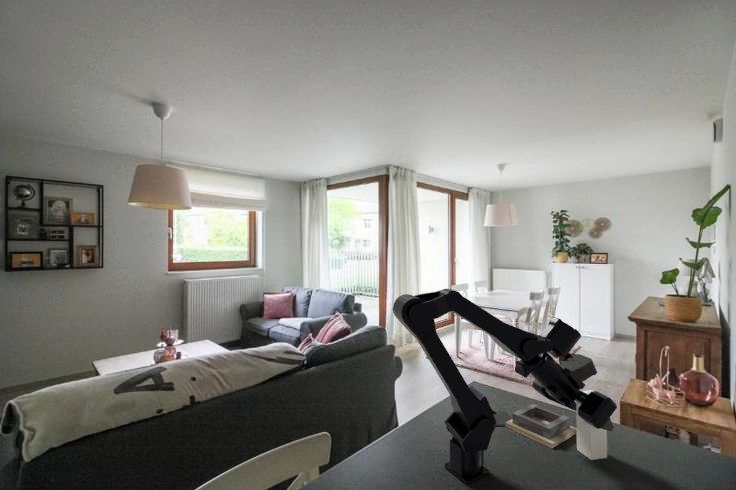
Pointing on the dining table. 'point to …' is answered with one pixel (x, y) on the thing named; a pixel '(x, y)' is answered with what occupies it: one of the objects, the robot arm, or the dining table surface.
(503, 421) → the smartphone
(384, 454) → the dining table surface
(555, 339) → the robot arm
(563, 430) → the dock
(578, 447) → the block
